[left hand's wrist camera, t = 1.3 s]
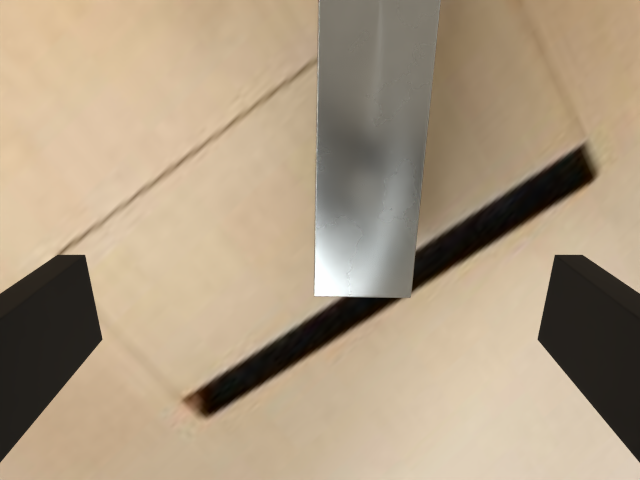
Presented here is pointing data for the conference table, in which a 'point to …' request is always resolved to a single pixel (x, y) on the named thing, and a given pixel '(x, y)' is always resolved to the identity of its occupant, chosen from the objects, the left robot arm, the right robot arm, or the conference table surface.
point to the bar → (371, 142)
